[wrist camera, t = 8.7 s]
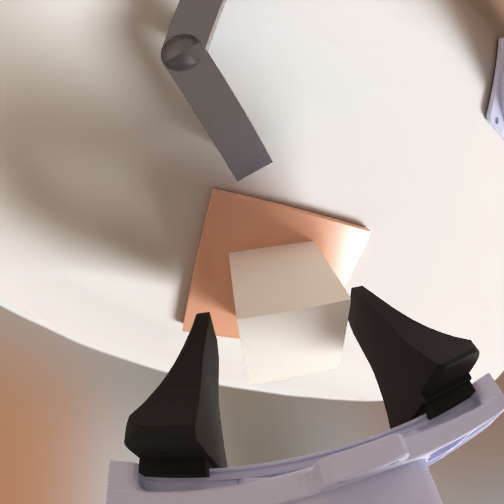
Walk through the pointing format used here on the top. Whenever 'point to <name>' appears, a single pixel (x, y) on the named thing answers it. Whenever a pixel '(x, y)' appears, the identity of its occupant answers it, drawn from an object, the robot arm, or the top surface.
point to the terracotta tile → (259, 236)
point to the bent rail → (210, 86)
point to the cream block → (288, 311)
